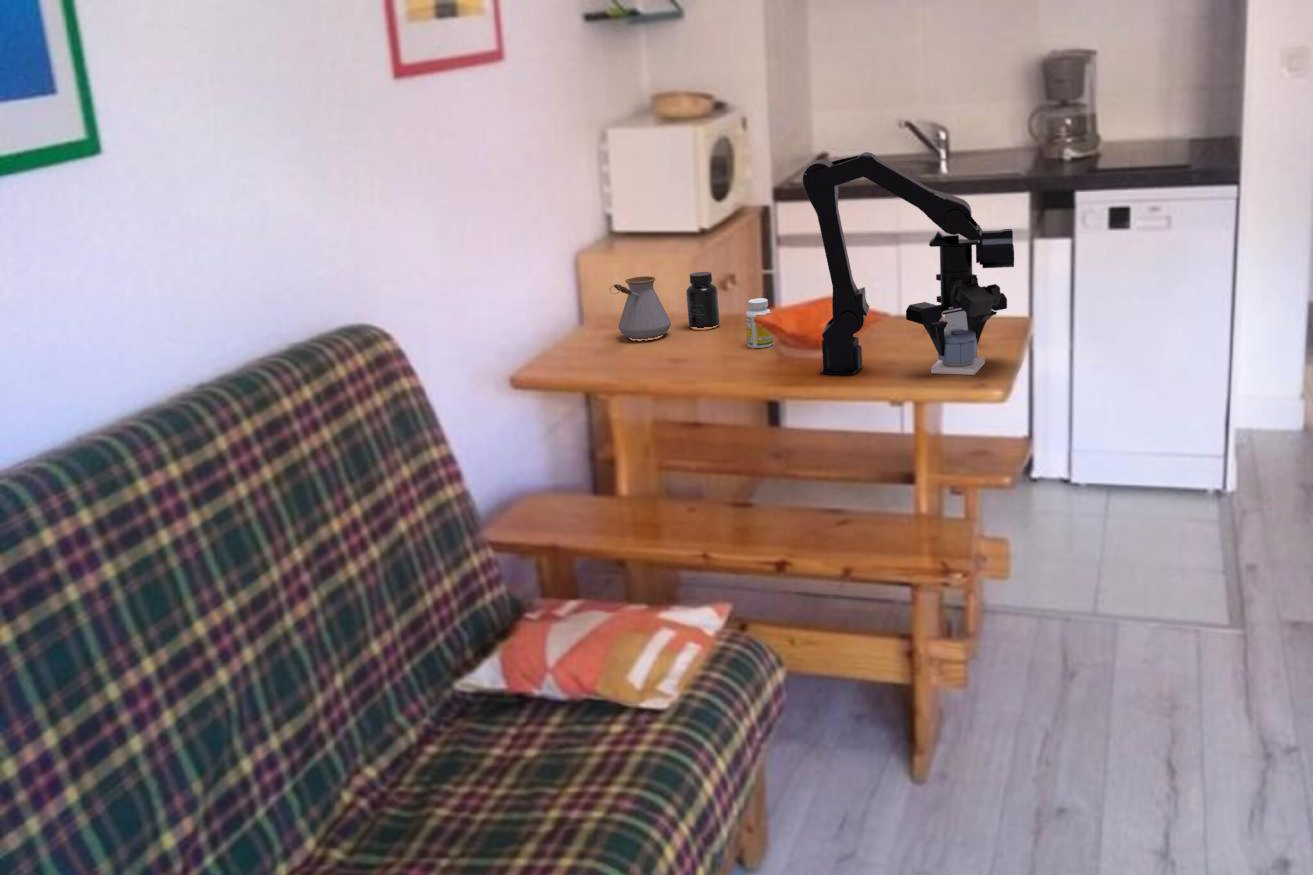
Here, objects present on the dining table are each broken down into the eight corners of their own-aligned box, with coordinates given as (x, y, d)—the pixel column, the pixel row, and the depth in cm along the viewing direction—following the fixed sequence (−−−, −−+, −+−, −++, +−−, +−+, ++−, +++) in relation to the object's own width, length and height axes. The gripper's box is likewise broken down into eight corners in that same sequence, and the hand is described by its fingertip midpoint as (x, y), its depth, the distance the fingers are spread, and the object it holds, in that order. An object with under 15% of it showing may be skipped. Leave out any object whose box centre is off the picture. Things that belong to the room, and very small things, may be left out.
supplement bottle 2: (743, 348, 283) (740, 302, 280) (754, 342, 287) (751, 297, 284) (766, 349, 280) (764, 303, 277) (777, 343, 285) (775, 297, 282)
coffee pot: (630, 330, 307) (624, 264, 302) (679, 330, 303) (673, 263, 298) (594, 355, 288) (587, 285, 283) (646, 356, 284) (639, 284, 279)
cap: (935, 361, 253) (934, 334, 251) (944, 352, 258) (944, 325, 257) (971, 363, 250) (970, 335, 248) (979, 353, 256) (979, 326, 254)
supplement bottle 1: (703, 322, 308) (700, 269, 305) (726, 325, 304) (722, 272, 300) (682, 328, 304) (678, 275, 300) (705, 332, 299) (700, 278, 296)
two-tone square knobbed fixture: (931, 373, 253) (930, 346, 252) (942, 361, 260) (941, 336, 259) (974, 374, 250) (973, 348, 248) (984, 363, 256) (984, 337, 255)
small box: (974, 349, 267) (973, 296, 264) (945, 350, 268) (944, 297, 265) (973, 339, 274) (973, 287, 271) (945, 340, 275) (944, 288, 272)
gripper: (939, 283, 239) (940, 370, 243) (1026, 267, 246) (1026, 352, 250) (903, 274, 249) (905, 358, 253) (988, 259, 255) (988, 340, 260)
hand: (957, 352), depth 254 cm, fingers closed on cap, 7 cm apart
